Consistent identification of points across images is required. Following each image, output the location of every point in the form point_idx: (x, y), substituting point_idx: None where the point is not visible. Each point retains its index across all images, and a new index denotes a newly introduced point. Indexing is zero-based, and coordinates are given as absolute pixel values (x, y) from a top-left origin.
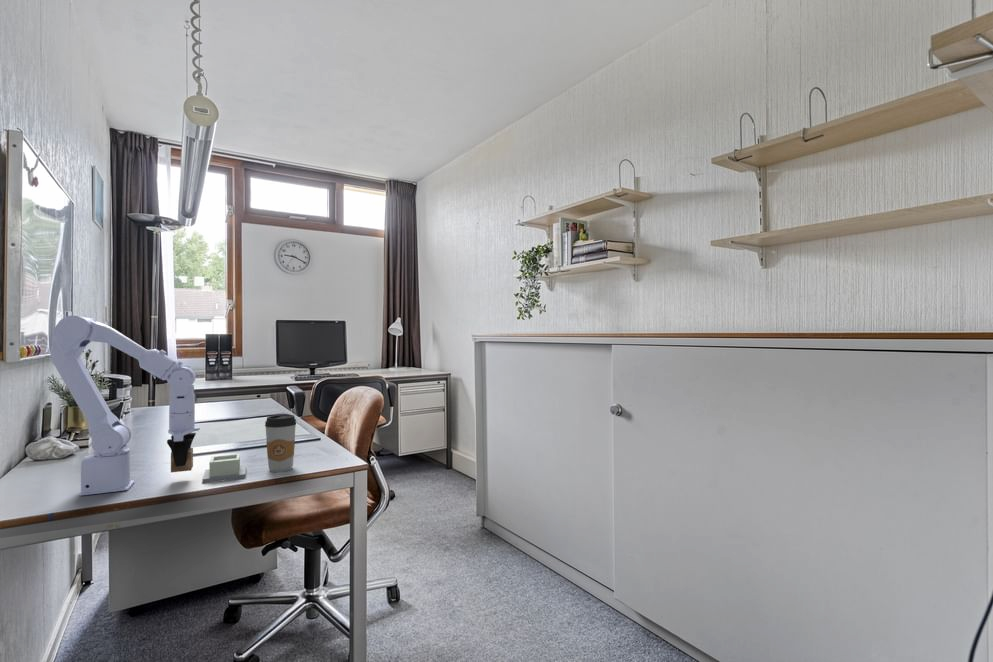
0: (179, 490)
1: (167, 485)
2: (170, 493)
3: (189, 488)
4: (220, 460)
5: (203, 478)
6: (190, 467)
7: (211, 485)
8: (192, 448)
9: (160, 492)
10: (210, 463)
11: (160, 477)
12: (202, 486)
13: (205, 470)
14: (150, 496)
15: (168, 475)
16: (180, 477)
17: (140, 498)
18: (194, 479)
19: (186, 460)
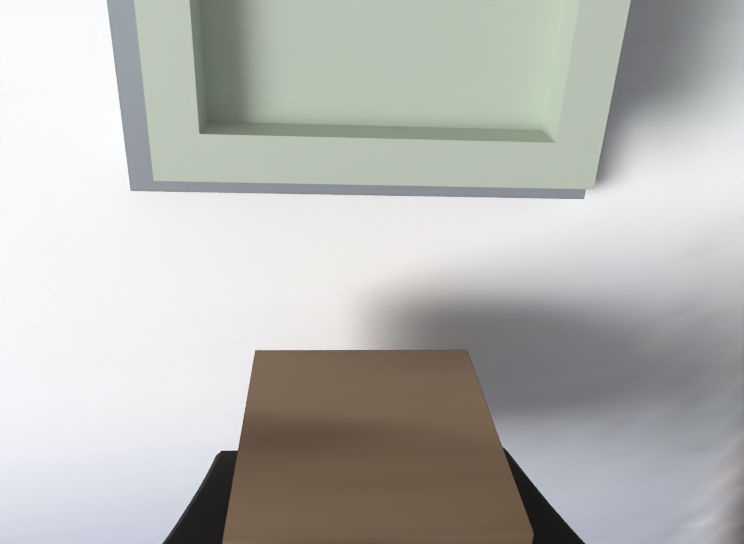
0: (691, 345)
1: None
2: (733, 394)
3: (685, 279)
4: (312, 22)
5: (559, 190)
6: (472, 376)
7: (725, 91)
8: (282, 542)
9: (648, 458)
10: (589, 169)
11: (144, 519)
12: (698, 175)
13: (175, 191)
14: (711, 497)
15: (94, 477)
16: (219, 384)
17: (715, 539)
18: (367, 265)
19: None
